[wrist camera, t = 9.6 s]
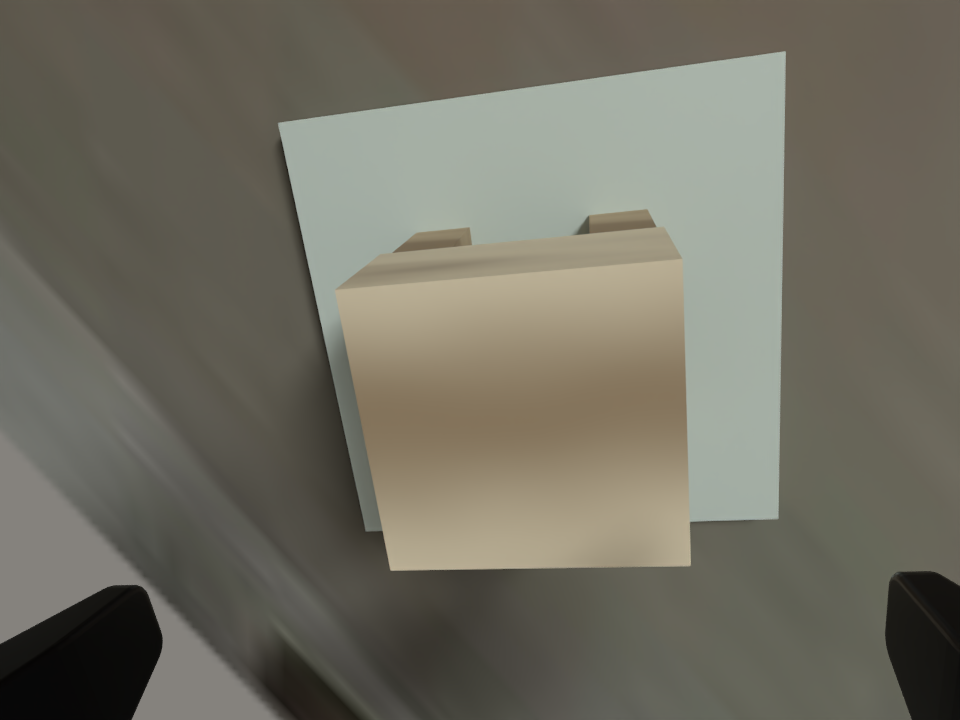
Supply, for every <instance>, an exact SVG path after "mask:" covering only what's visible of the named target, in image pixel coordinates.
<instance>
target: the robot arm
mask: <svg viewBox="0 0 960 720" xmlns="http://www.w3.org/2000/svg"><path fill="white" fill-rule="evenodd" d="M885 639H886V646H887V651H888V655H889V658H890V661H891V663H892V666H893V669H894V672H895V674H896V677H897V680H898V683H899V685H900V688H901V691H902V694H903V697H904V699H905V702H906V705H907V708H908V710H909V713H910V716H911V719H912V720H960V586H959V585H957V584H956V583H954V582H952V581H951V580H949V579H947V578H946V577H944V576H942V575H940V574H938V573H936V572H931V571H916V572H897V573H895V574H894V575H893V576H892V577H891V580H890V582H889V591H888V604H887V616H886V628H885ZM162 641H163V640H162V633H161V630H160V627H159V624H158V621H157V619H156V616H155V613H154V610H153V607H152V604H151V602H150V599H149V596H148V594H147V592H146V591H145V590H144V588H142V587H141V586H138V585H115V586H110V587H107V588H105V589H103V590H101V591H99V592H97V593H95V594H93V595H92V596H90V597H88V598H86V599H84V600H82V601H81V602H78V603H77V604H75V605H73V606H71V607H69V608H67V609H65V610H63V611H62V612H60V613H58V614H56V615H54V616H52V617H50V618H48V619H46V620H45V621H43V622H41V623H39V624H37V625H35V626H33V627H31V628H30V629H28V630H26V631H24V632H22V633H20V634H18V635H16V636H15V637H13V638H11V639H9V640H7V641H5V642H3V643H1V644H0V720H132V717H133V715H134V713H135V711H136V708H137V706H138V704H139V702H140V699H141V697H142V695H143V693H144V690H145V688H146V686H147V684H148V681H149V679H150V677H151V675H152V672H153V670H154V668H155V666H156V663H157V661H158V659H159V657H160V653H161V650H162Z"/></svg>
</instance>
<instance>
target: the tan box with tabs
mask: <svg viewBox="0 0 960 720" xmlns="http://www.w3.org/2000/svg"><path fill="white" fill-rule="evenodd" d="M589 232H590V234H582V235H571V236H561V237H551V238H541V239H530V240H520V241H510V242H499V243H489V244H479V245H472V240H471V233H470V227H467V228H457V229H448V230H438V231H428V232H418V233H415V234H414V235H413V236H412V237H411V238H409V239H408V240H407V241H406V242H405V243H403V244H402V245H401V246H400V247H398V248H397V249H396V250H395V251H394V252H392V253H386V254H380V255H379V256H377V257H376V258H375V259H373V260H372V261H371V262H370V263H368V264H367V265H366V266H365V267H363V268H362V269H361V270H359V271H358V272H357V273H356V274H354V275H353V276H352V277H351V278H349V279H348V280H347V281H345V282H344V283H343V284H342V285H340V286H339V287H338V288H336V289H335V294H336V299H337V304H338V309H339V314H340V319H341V324H342V329H343V334H344V339H345V344H346V349H347V354H348V359H349V364H350V369H351V374H352V379H353V384H354V389H355V395H356V400H357V405H358V410H359V415H360V420H361V425H362V430H363V435H364V440H365V445H366V450H367V455H368V460H369V465H370V470H371V475H372V480H373V485H374V490H375V495H376V500H377V505H378V510H379V515H380V520H381V525H382V530H383V535H384V540H385V545H386V550H387V555H388V560H389V565H390V570H391V571H396V570H462V569H528V568H595V567H661V566H691V553H690V515H689V478H688V441H687V404H686V367H685V330H684V292H683V259H682V257H681V255H680V254H679V252H678V250H677V248H676V247H675V245H674V243H673V241H672V240H671V238H670V236H669V234H668V233H667V231H666V229H665V227H656V225H655V223H654V221H653V219H652V217H651V215H650V213H649V211H648V209H644V210H634V211H625V212H615V213H605V214H595V215H589Z"/></svg>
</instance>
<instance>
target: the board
mask: <svg viewBox="0 0 960 720" xmlns="http://www.w3.org/2000/svg"><path fill="white" fill-rule="evenodd" d="M785 60H786V51H785V52H778V53H771V54H764V55H757V56H750V57H742V58H735V59H728V60H721V61H714V62H707V63H700V64H693V65H686V66H679V67H672V68H664V69H657V70H650V71H643V72H636V73H629V74H622V75H615V76H608V77H601V78H593V79H586V80H579V81H572V82H565V83H558V84H551V85H544V86H537V87H530V88H523V89H515V90H508V91H501V92H494V93H487V94H480V95H473V96H466V97H459V98H452V99H445V100H437V101H430V102H423V103H416V104H409V105H402V106H395V107H388V108H381V109H374V110H366V111H359V112H352V113H345V114H338V115H331V116H324V117H317V118H310V119H303V120H296V121H288V122H281V123H278V125H279V130H280V135H281V139H282V144H283V149H284V153H285V158H286V163H287V167H288V172H289V177H290V181H291V186H292V190H293V195H294V200H295V204H296V209H297V214H298V218H299V223H300V228H301V232H302V237H303V242H304V246H305V251H306V256H307V260H308V265H309V270H310V274H311V279H312V283H313V288H314V293H315V297H316V302H317V307H318V311H319V316H320V321H321V325H322V330H323V335H324V339H325V344H326V349H327V353H328V358H329V363H330V367H331V372H332V376H333V381H334V386H335V390H336V395H337V400H338V404H339V409H340V414H341V418H342V423H343V428H344V432H345V437H346V442H347V446H348V451H349V456H350V460H351V465H352V470H353V474H354V479H355V483H356V488H357V493H358V497H359V502H360V507H361V511H362V516H363V521H364V525H365V530H366V531H383V530H382V525H381V520H380V515H379V510H378V505H377V500H376V495H375V490H374V485H373V480H372V475H371V470H370V465H369V460H368V455H367V450H366V445H365V440H364V435H363V430H362V425H361V420H360V415H359V410H358V405H357V400H356V395H355V389H354V384H353V379H352V374H351V369H350V364H349V359H348V354H347V349H346V344H345V339H344V334H343V329H342V324H341V319H340V314H339V309H338V304H337V299H336V294H335V289H336V288H338V287H339V286H340V285H342V284H343V283H344V282H345V281H347V280H348V279H349V278H351V277H352V276H353V275H354V274H356V273H357V272H358V271H359V270H361V269H362V268H363V267H365V266H366V265H367V264H368V263H370V262H371V261H372V260H373V259H375V258H376V257H377V256H379V255H380V254H386V253H392V252H394V251H395V250H396V249H397V248H398V247H400V246H401V245H402V244H403V243H405V242H406V241H407V240H408V239H409V238H411V237H412V236H413V235H414V234H415V233H418V232H428V231H438V230H448V229H457V228H467V227H470V233H471V240H472V245H479V244H489V243H499V242H510V241H520V240H530V239H541V238H551V237H561V236H571V235H582V234H590V232H589V215H595V214H605V213H615V212H625V211H634V210H644V209H648V211H649V213H650V215H651V217H652V219H653V221H654V223H655V225H656V227H665V229H666V231H667V233H668V234H669V236H670V238H671V240H672V241H673V243H674V245H675V247H676V248H677V250H678V252H679V254H680V255H681V257H682V259H683V292H684V330H685V367H686V404H687V441H688V478H689V515H690V522H693V521H726V520H759V519H778V504H779V440H780V377H781V314H782V250H783V187H784V124H785Z"/></svg>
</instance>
